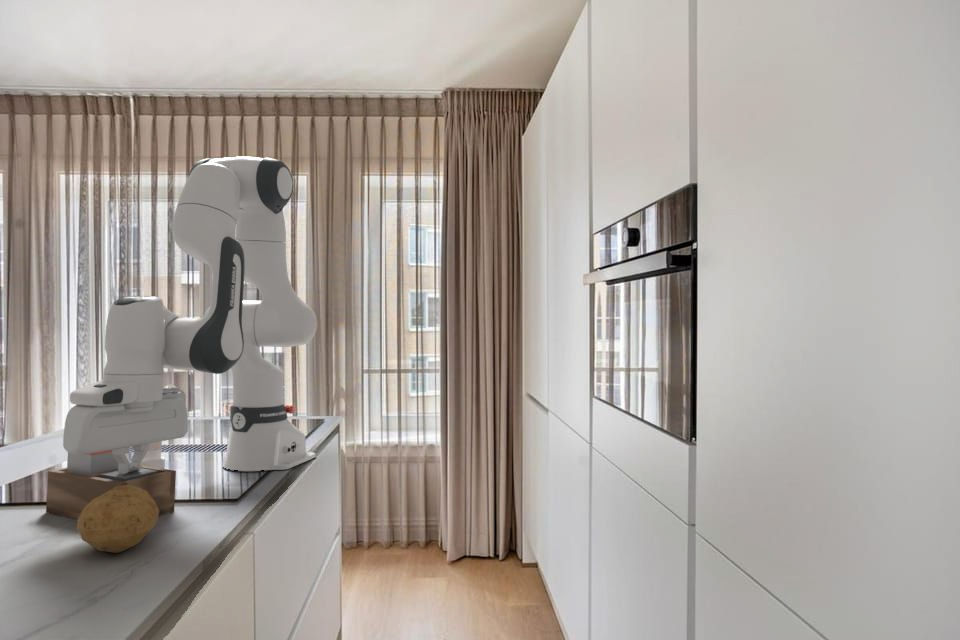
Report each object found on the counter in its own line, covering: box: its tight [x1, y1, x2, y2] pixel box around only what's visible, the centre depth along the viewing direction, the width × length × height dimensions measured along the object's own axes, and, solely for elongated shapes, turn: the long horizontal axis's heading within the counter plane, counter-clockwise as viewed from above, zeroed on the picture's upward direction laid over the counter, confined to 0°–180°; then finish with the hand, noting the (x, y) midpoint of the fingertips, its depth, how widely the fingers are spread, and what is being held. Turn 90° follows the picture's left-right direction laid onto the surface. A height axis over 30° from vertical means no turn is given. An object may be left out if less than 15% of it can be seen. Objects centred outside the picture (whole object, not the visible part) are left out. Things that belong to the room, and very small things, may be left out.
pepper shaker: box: [141, 441, 166, 469], centre depth 113 cm, size 4×4×10 cm
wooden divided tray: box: [45, 465, 177, 520], centre depth 98 cm, size 10×18×7 cm, turn 68°
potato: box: [76, 485, 159, 554], centre depth 82 cm, size 10×14×8 cm
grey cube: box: [100, 468, 158, 482], centre depth 97 cm, size 6×6×6 cm
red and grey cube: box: [66, 450, 118, 475], centre depth 100 cm, size 6×6×6 cm
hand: (129, 472), depth 97 cm, fingers closed
